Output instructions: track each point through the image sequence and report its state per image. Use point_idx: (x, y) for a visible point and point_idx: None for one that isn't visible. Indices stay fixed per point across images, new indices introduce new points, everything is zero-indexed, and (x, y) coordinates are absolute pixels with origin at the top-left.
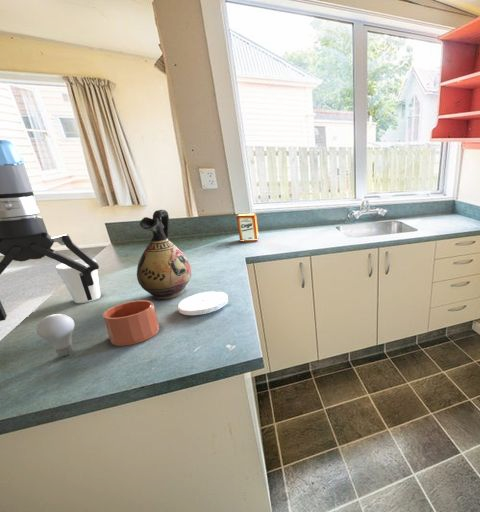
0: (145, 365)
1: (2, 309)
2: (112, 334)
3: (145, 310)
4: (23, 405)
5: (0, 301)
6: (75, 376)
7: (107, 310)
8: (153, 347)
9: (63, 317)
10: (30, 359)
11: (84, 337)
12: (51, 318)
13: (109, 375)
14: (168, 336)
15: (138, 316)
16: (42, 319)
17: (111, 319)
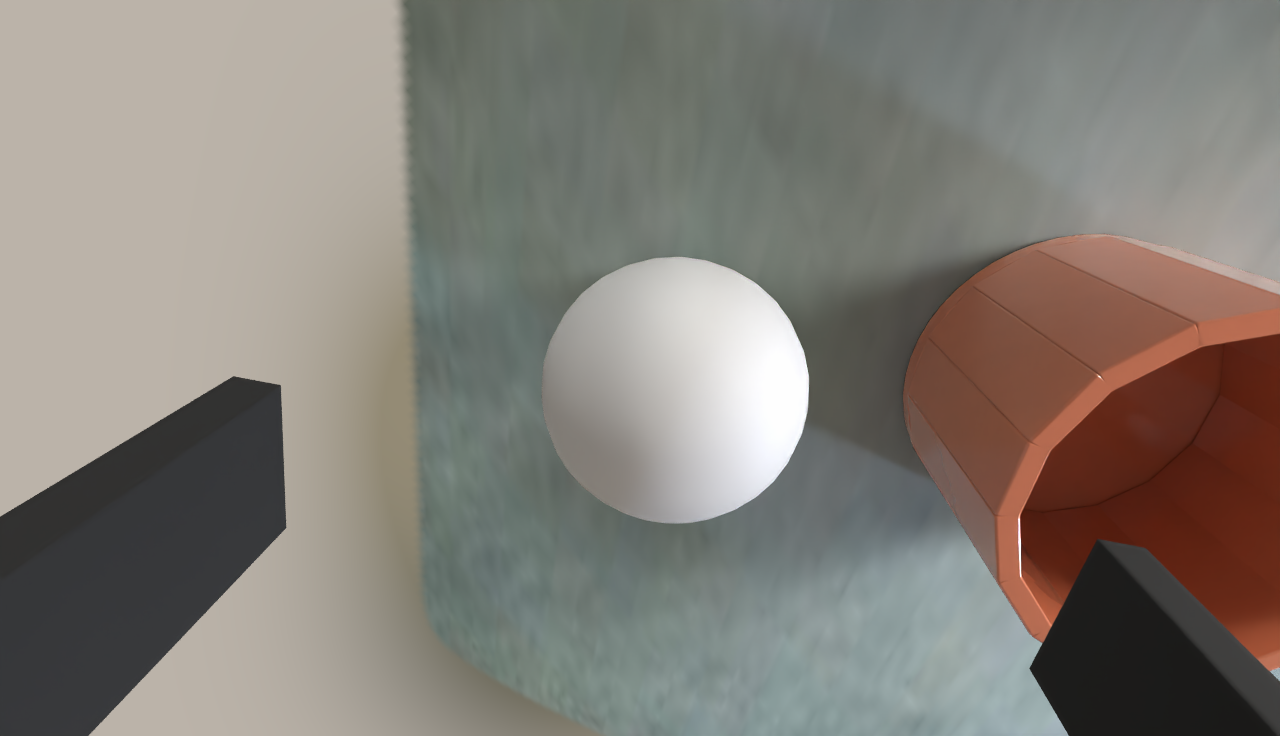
0: (882, 732)
1: (200, 527)
2: (935, 478)
3: None
4: (470, 618)
5: (97, 522)
6: (653, 573)
7: (1111, 381)
8: (1004, 621)
9: (745, 492)
10: (517, 143)
11: (842, 76)
12: (656, 494)
13: (752, 683)
14: None
15: None
16: (594, 410)
17: (1007, 597)
